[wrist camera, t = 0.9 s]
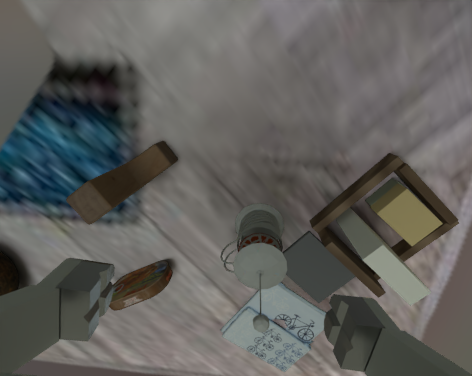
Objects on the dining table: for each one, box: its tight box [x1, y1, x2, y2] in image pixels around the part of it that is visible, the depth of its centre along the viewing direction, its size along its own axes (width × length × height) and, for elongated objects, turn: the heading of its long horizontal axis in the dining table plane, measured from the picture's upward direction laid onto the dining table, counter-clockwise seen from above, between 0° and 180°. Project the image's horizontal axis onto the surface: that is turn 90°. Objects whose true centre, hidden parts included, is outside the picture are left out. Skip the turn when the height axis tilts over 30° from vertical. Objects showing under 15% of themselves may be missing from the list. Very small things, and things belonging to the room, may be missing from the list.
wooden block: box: [66, 141, 178, 224], centre depth 41 cm, size 9×4×18 cm, turn 126°
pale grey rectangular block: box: [335, 207, 431, 306], centre depth 44 cm, size 4×11×14 cm, turn 47°
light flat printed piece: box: [221, 282, 326, 372], centre depth 59 cm, size 19×20×2 cm
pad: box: [283, 231, 356, 303], centre depth 54 cm, size 10×14×1 cm
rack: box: [310, 153, 459, 298], centre depth 46 cm, size 18×17×8 cm
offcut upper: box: [370, 183, 443, 246], centre depth 45 cm, size 6×9×3 cm, turn 49°
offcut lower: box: [365, 178, 404, 206], centre depth 47 cm, size 6×9×3 cm, turn 47°
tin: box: [109, 261, 173, 310], centre depth 54 cm, size 15×3×8 cm, turn 116°
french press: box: [221, 203, 287, 333], centre depth 40 cm, size 10×12×25 cm
